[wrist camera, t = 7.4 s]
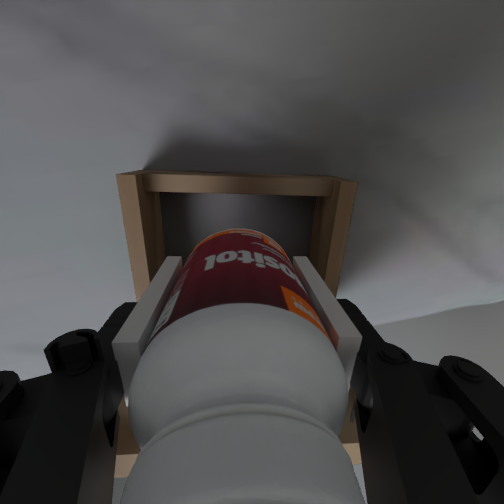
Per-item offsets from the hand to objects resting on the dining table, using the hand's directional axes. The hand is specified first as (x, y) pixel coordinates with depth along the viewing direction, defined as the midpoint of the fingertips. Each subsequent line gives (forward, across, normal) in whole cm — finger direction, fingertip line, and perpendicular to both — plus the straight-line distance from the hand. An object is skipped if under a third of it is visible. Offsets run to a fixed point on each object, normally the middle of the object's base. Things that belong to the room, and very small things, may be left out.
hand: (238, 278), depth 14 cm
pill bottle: (+1, 0, 0) cm, 1 cm away
